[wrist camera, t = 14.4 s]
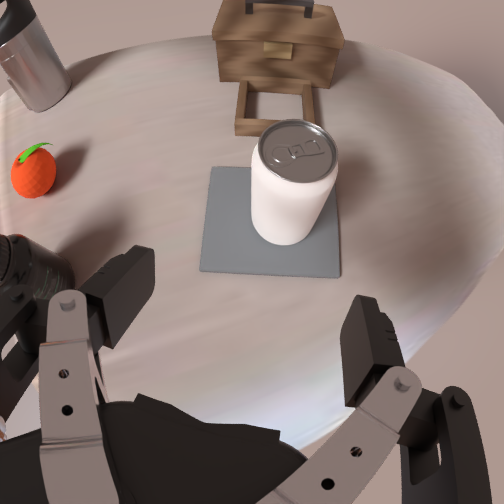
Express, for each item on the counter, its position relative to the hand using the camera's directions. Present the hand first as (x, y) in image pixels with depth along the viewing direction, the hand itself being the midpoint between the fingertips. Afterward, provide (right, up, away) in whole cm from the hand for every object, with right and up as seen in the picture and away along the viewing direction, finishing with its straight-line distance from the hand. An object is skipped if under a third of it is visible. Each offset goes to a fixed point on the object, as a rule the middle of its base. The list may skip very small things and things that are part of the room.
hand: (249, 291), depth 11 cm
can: (+3, +5, +20) cm, 21 cm away
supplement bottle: (-23, -2, +18) cm, 29 cm away
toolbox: (+3, +26, +27) cm, 37 cm away
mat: (+2, +5, +20) cm, 21 cm away
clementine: (-28, +11, +22) cm, 38 cm away
